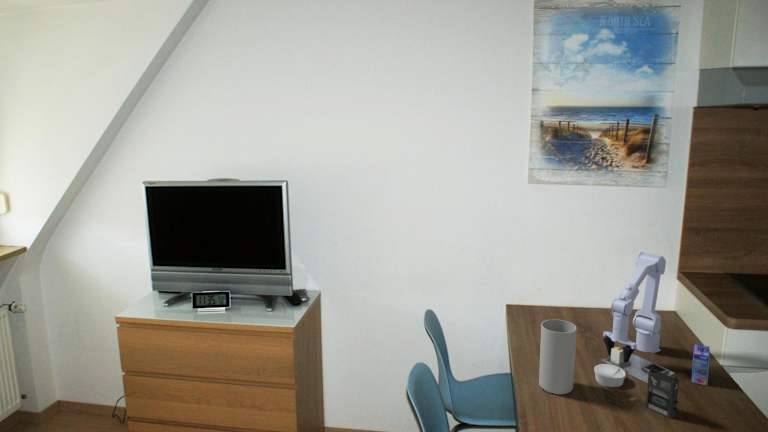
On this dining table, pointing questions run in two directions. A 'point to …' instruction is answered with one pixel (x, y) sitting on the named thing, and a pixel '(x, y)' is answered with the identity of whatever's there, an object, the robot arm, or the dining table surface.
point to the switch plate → (639, 367)
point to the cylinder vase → (557, 356)
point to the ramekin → (609, 375)
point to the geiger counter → (662, 393)
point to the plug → (617, 355)
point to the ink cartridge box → (700, 364)
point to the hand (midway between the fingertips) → (618, 358)
